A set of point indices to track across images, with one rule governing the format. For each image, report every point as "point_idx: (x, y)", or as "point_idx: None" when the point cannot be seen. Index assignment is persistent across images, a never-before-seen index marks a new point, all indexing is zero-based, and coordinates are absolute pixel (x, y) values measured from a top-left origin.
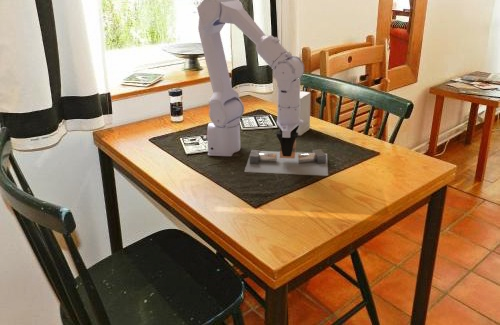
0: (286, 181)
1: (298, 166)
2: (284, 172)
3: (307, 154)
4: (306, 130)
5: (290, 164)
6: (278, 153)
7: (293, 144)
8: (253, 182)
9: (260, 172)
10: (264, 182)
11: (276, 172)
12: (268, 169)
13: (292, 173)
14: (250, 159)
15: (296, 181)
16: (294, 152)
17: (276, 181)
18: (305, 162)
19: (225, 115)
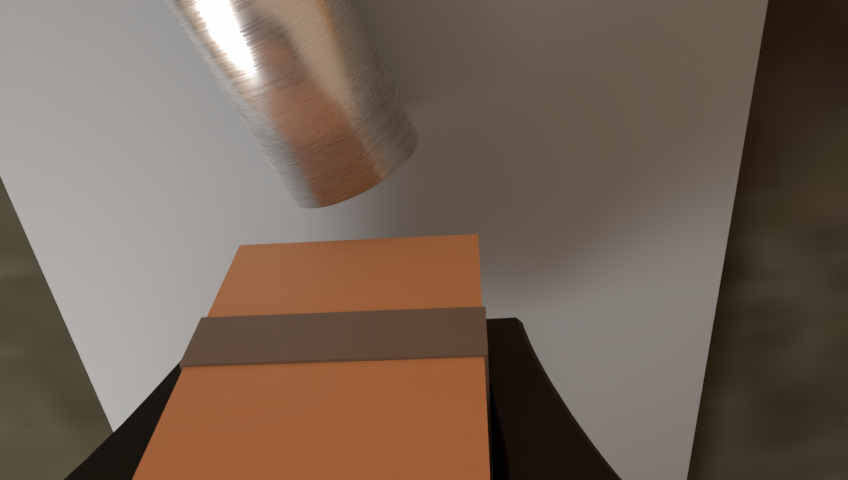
0: (829, 198)
1: (486, 117)
2: (692, 265)
3: (281, 48)
4: None
5: (438, 225)
6: (147, 385)
7: (613, 476)
8: (815, 467)
9: (687, 470)
10: (827, 392)
11: (690, 343)
12: (612, 420)
13: (725, 171)
14: None
15: (844, 81)
16: (479, 305)
17: (816, 296)
18: None
19: None
